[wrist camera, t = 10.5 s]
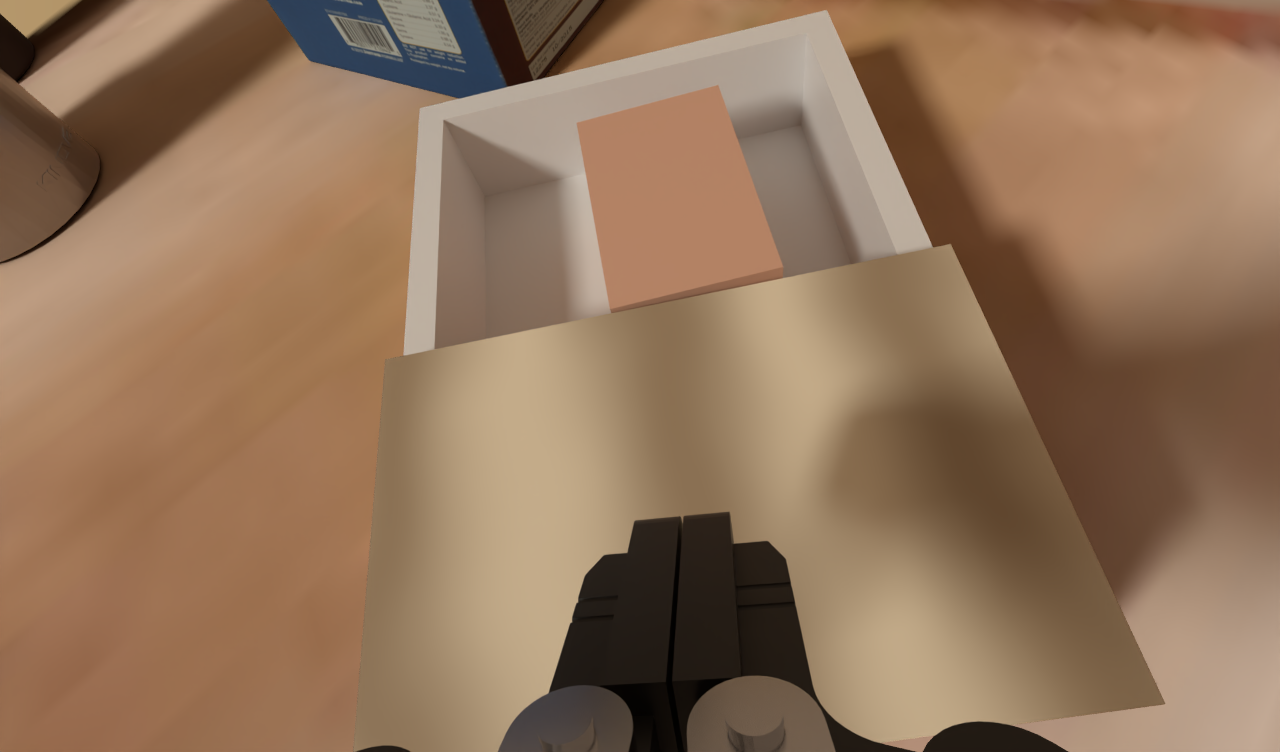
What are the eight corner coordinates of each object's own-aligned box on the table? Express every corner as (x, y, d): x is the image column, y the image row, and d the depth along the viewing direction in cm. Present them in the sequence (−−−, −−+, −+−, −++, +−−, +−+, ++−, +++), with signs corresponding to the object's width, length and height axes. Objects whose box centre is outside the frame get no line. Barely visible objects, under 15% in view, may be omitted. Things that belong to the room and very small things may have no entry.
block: (610, 308, 18) (576, 122, 22) (640, 387, 23) (607, 220, 27) (783, 266, 18) (718, 85, 22) (779, 354, 22) (726, 189, 26)
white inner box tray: (469, 433, 24) (402, 369, 20) (470, 197, 30) (419, 108, 25) (905, 349, 22) (939, 261, 18) (817, 119, 28) (826, 10, 24)
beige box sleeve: (466, 787, 18) (347, 815, 13) (468, 438, 24) (385, 359, 19) (1042, 708, 17) (1166, 704, 12) (907, 354, 22) (950, 243, 17)
